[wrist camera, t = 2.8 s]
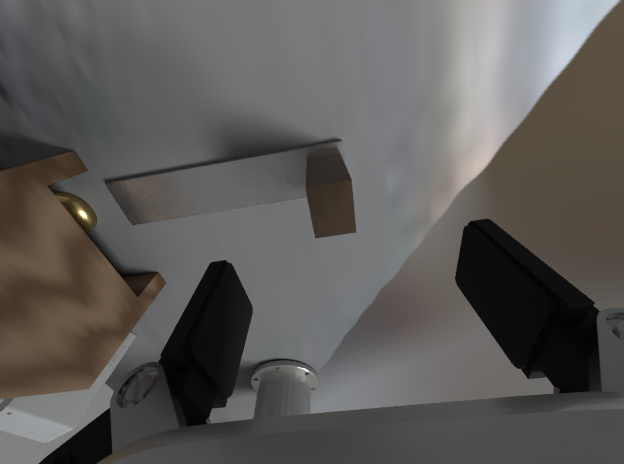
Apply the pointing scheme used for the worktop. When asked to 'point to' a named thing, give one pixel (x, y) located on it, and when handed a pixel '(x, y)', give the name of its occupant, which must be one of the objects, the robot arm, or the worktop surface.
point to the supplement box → (54, 407)
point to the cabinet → (57, 288)
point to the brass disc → (78, 210)
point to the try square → (247, 187)
